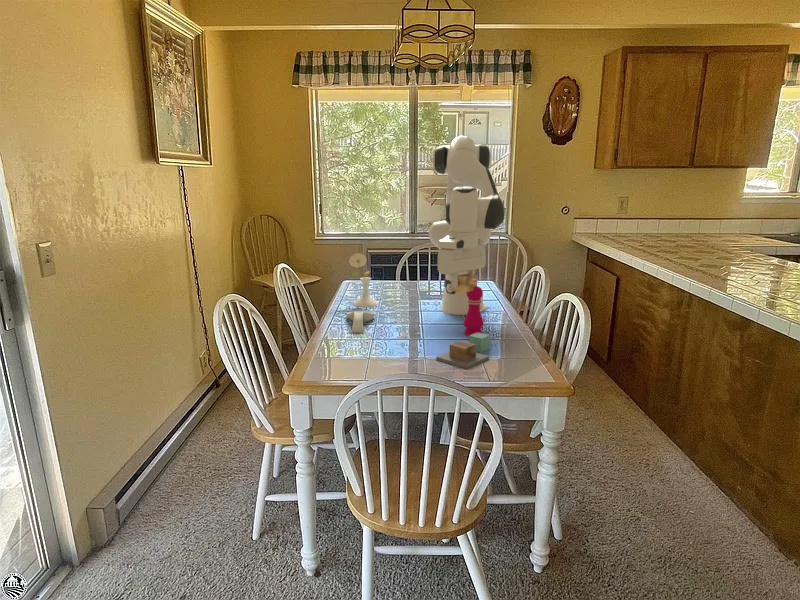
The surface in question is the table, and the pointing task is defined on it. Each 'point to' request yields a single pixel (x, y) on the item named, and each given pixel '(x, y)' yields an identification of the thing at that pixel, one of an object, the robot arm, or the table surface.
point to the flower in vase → (365, 299)
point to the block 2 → (480, 341)
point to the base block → (462, 350)
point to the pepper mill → (474, 312)
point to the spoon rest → (360, 319)
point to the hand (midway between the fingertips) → (462, 285)
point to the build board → (461, 363)
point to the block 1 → (464, 283)
